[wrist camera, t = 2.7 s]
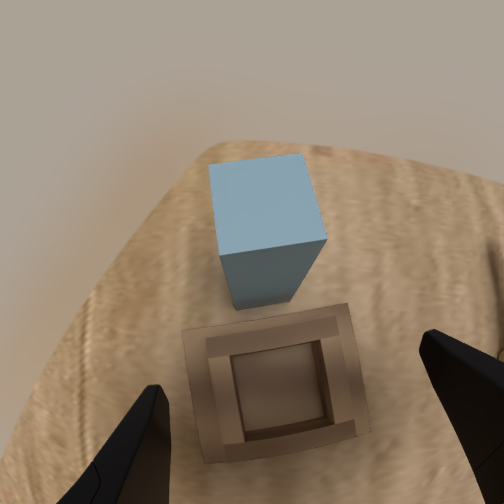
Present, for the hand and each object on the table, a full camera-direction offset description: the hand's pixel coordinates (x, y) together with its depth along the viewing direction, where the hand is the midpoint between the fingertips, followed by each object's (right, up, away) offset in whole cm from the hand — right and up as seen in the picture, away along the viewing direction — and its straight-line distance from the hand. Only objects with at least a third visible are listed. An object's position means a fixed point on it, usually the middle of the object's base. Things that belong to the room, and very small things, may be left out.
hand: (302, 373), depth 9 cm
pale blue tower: (-1, +2, +14) cm, 14 cm away
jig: (0, -6, +11) cm, 13 cm away
